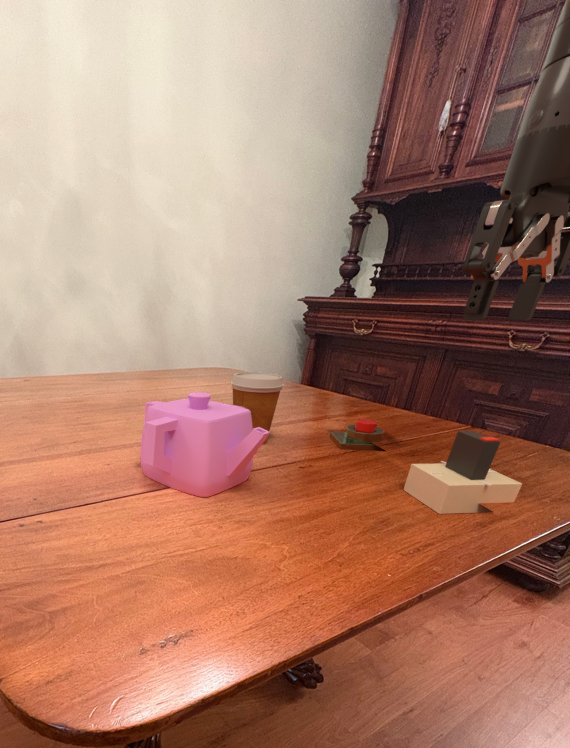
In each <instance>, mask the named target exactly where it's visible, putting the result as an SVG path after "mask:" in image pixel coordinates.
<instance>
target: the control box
mask: <svg viewBox="0 0 570 748" xmlns="http://www.w3.org/2000/svg"><path fill="white" fill-rule="evenodd" d="M446 463H447V461H445V460H440V462H439V463H411V465H410V469H409V471H408V474H407V477H406V480H405V483H404V487H403V491H404V492H406V493H407V494H409V496H412V497H413V498H414V499H416V500H417V501H418V502H420V503H422V504H424V505H425V506H426V507H428V508H430V509H431V510H432V511H434V512H435V513H437V514H439V515H447V514H480V513H485V514H486V513H494V511H493V510H491V509H490V508H488V507H486V506H484V505H482V504H501V503H502V504H503V503H507V504H508V503H509V504H510V503H515V501H516V499H517V497H518V494H519V492H520V491H521V488H522V485H523V483H522V482H519V481H518V480H515V479H513V478H511V477H509V476H506V475H505V474H502V473H500V472H498V471H496V470H493V469H491V468H489V471H488V473H487V476H486V478H485V479H479V480H471V479H469V478H467V477H465V476H463V475H461V474H459V473H457V472H455V471H453V470H451V469H449V468H447V467H445V466H446Z"/></svg>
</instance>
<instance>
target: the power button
mask: <svg viewBox="0 0 570 748" xmlns="http://www.w3.org/2000/svg"><path fill="white" fill-rule="evenodd" d="M354 425H355V429H354V430H357V431H362V432H375V429H376V427H377V425H378V422H377V421H376V420H373V419H364V418H361V419H357V420H356V421H355V424H354Z"/></svg>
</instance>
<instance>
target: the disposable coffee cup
mask: <svg viewBox="0 0 570 748" xmlns="http://www.w3.org/2000/svg"><path fill="white" fill-rule="evenodd" d="M231 379H232V380H231V381H230V385H231V388H232V405H236V406H242V407H245V409H248V410H250V411H251V417H252V427H253V429H254V428H257V427H260V428H262V429H264V430H267V431H269V432H270V430H271V427H272V424H273V420H274V416H275V412H276V408H277V405H278V400H279V397H280V393H281V391H282V390H283V387H284V386H285V383H283V376H282V375H280V374H277V373H271V372H259V371H243V372H236V373H234V374H233V375H232V378H231ZM268 438H269V436H268V437H267V438H266V440H265V441H264V443H263V444H262V445H261V446H264V445H266V444H267V442H268Z"/></svg>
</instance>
